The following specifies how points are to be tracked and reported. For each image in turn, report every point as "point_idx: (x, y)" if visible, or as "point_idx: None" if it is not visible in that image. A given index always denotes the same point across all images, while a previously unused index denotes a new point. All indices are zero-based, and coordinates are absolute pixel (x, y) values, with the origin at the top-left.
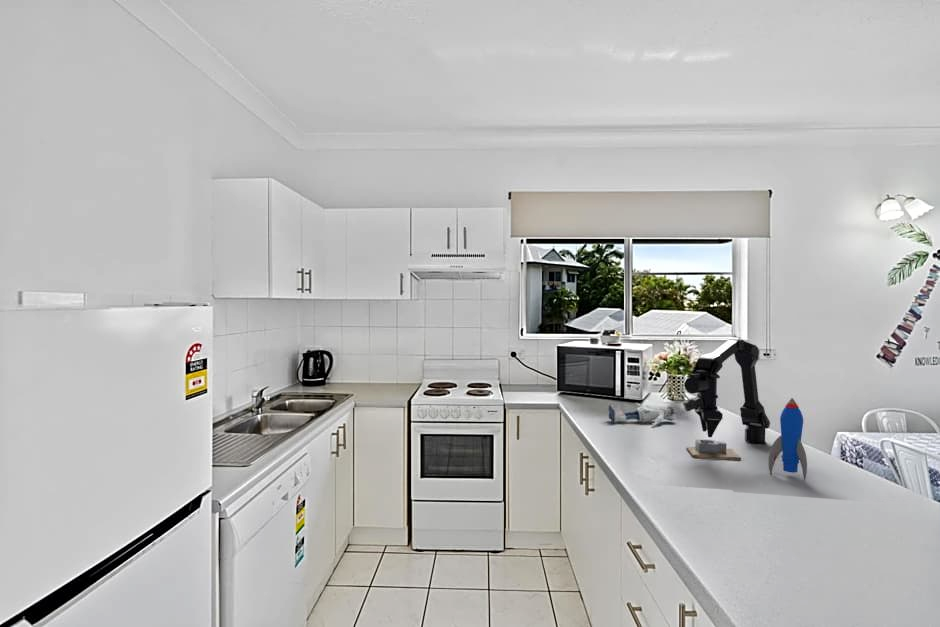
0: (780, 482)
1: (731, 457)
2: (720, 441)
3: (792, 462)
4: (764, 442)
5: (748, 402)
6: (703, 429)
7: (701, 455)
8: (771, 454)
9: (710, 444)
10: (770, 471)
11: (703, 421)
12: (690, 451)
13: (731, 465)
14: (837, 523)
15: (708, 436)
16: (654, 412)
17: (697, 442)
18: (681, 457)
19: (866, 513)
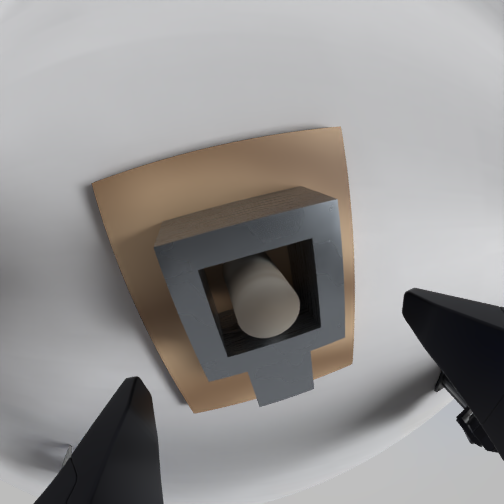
0: (27, 442)
1: (177, 385)
2: (312, 373)
3: None
4: (437, 389)
5: None
6: (416, 304)
7: (111, 243)
8: None
9: (189, 334)
10: (67, 452)
11: (483, 349)
12: (185, 154)
13: (77, 374)
14: None
15: (123, 383)
16: None
17: (239, 220)
18: (73, 113)
19: (4, 470)
